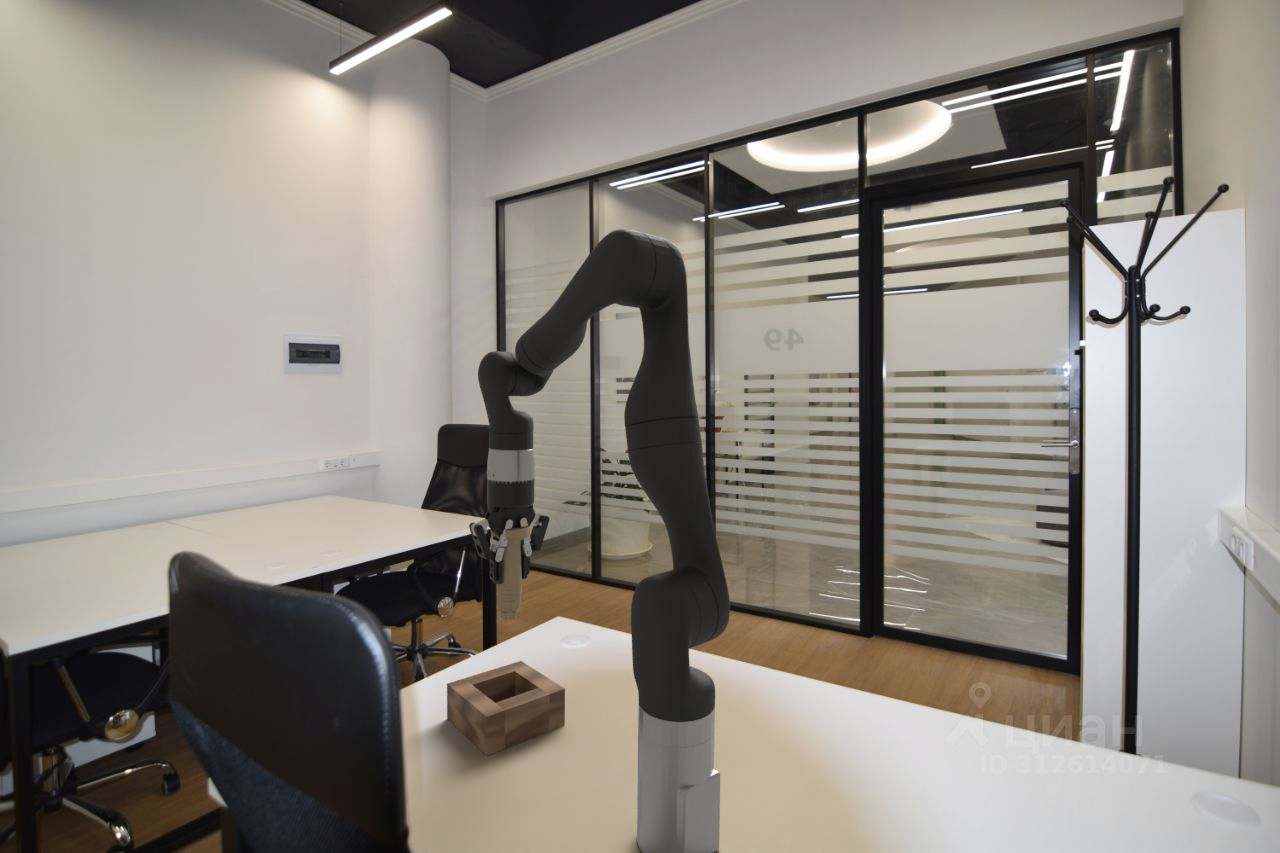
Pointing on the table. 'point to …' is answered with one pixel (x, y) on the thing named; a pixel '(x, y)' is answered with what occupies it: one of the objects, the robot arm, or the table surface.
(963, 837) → the table surface
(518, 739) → the wooden block
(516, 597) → the handle
